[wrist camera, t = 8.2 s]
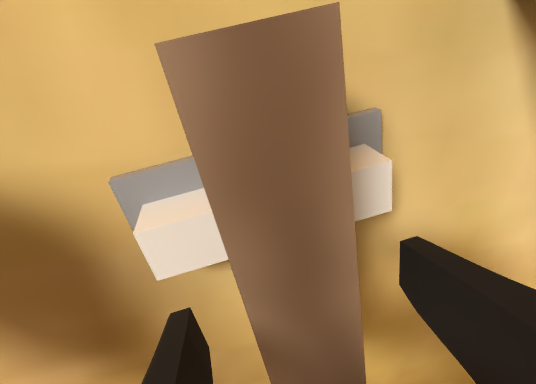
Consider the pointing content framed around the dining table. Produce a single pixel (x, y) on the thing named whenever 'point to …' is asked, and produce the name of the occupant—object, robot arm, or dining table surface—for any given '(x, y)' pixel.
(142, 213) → the ridge
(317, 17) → the walnut bar
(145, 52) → the dining table surface
